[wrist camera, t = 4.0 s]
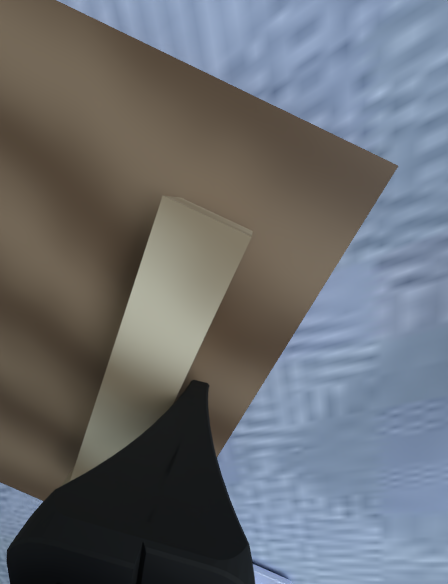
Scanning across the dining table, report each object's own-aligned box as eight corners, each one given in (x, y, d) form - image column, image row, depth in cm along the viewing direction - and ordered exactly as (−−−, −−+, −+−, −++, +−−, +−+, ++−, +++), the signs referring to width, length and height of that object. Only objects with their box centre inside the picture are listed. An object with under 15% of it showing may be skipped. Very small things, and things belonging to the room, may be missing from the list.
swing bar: (133, 505, 16) (103, 575, 13) (73, 479, 16) (30, 544, 13) (264, 236, 10) (267, 250, 7) (169, 192, 10) (129, 185, 7)
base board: (164, 530, 19) (158, 551, 18) (-171, 383, 18) (-199, 395, 17) (382, 170, 10) (398, 165, 9) (-256, -138, 9) (-326, -185, 8)
